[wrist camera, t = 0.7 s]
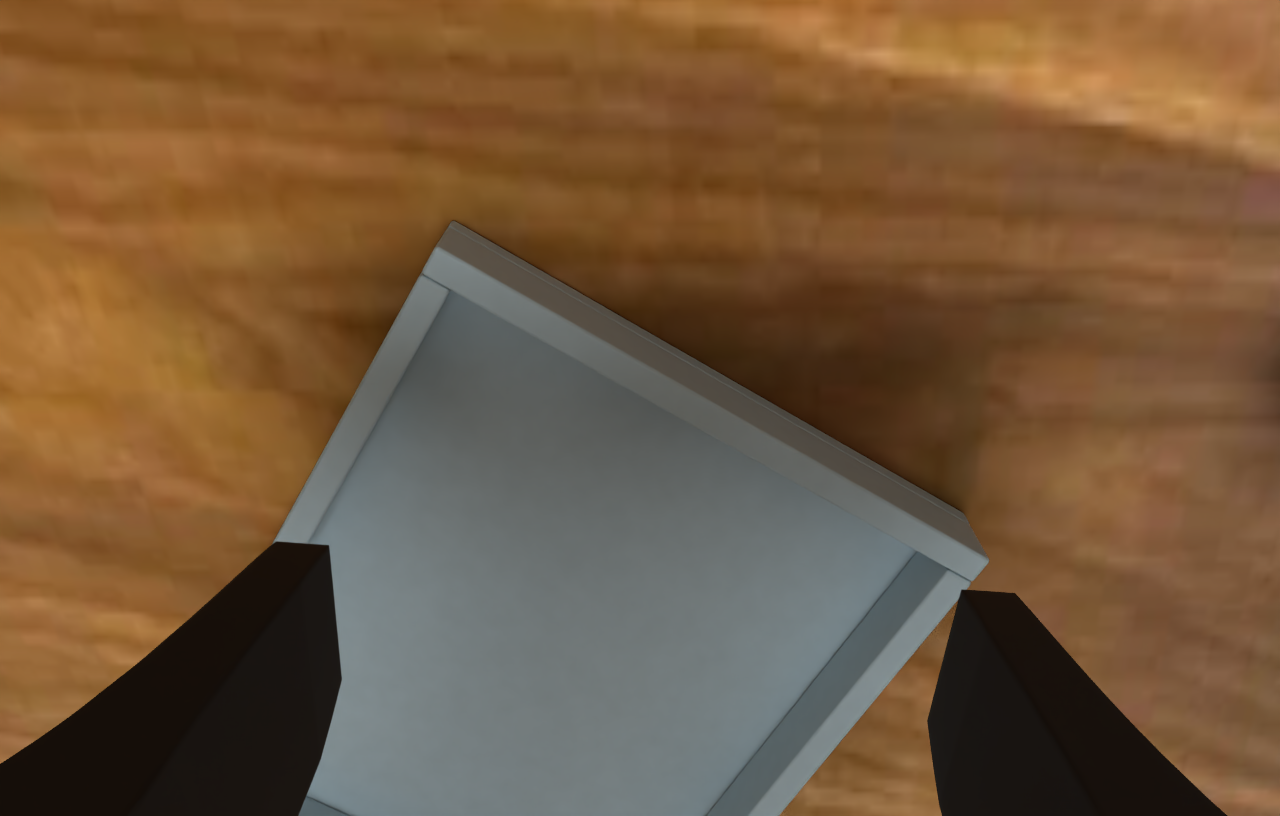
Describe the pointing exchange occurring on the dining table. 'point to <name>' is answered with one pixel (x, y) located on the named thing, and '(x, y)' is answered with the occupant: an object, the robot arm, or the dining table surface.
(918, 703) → the dining table surface
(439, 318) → the tray
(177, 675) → the robot arm
